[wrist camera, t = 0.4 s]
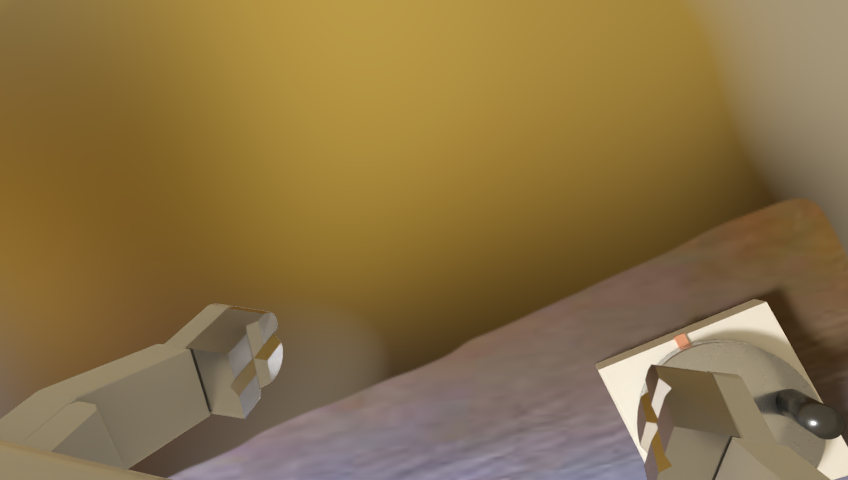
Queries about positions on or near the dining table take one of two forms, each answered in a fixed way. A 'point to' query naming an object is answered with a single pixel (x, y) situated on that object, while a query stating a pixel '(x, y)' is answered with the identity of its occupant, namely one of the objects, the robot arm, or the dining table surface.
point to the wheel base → (736, 324)
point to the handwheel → (767, 392)
